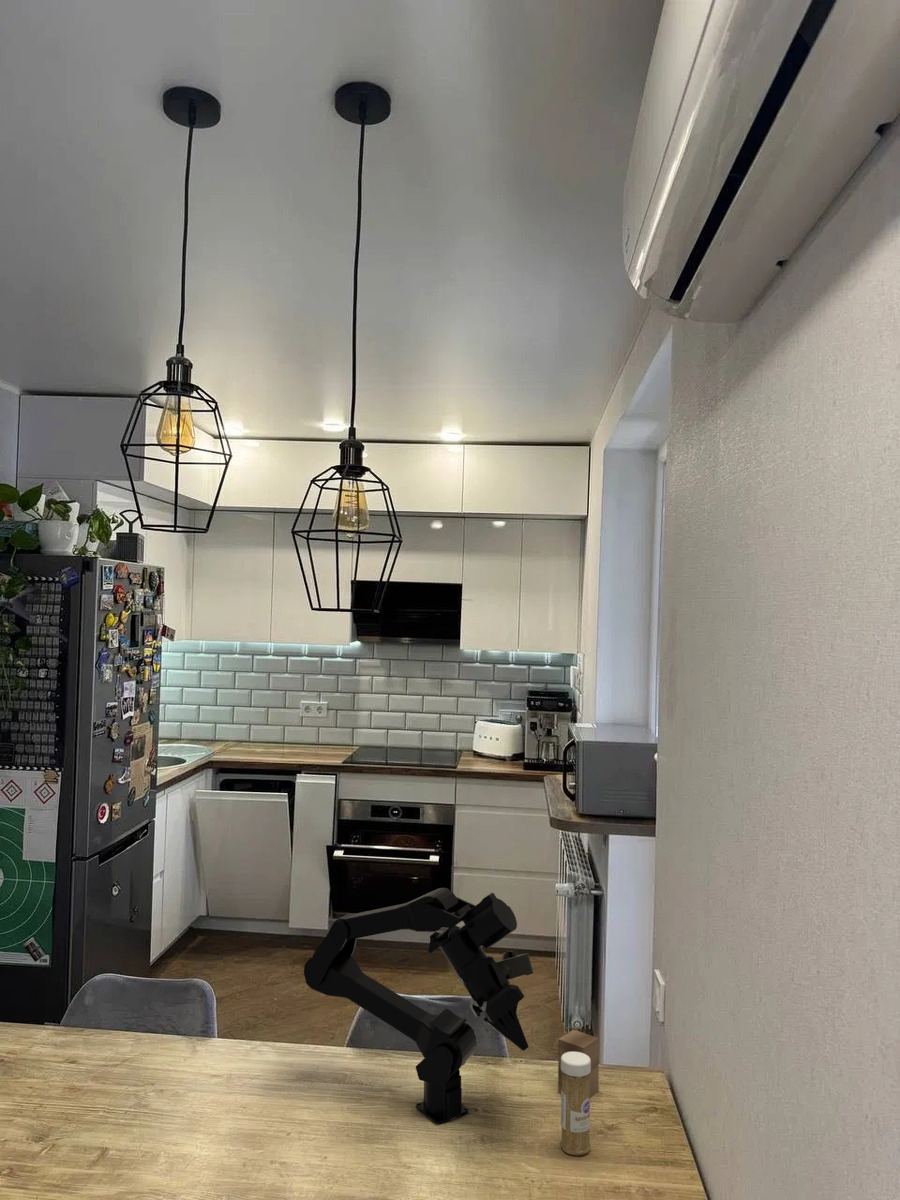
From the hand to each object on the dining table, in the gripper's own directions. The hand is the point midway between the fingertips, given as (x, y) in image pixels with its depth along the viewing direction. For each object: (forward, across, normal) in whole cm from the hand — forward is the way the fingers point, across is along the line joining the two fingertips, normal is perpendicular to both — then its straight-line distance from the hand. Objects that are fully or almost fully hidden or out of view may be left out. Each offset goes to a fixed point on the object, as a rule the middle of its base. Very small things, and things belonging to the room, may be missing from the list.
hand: (525, 1048), depth 135 cm
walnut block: (+13, +14, -5) cm, 20 cm away
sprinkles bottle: (+15, -1, +2) cm, 15 cm away
